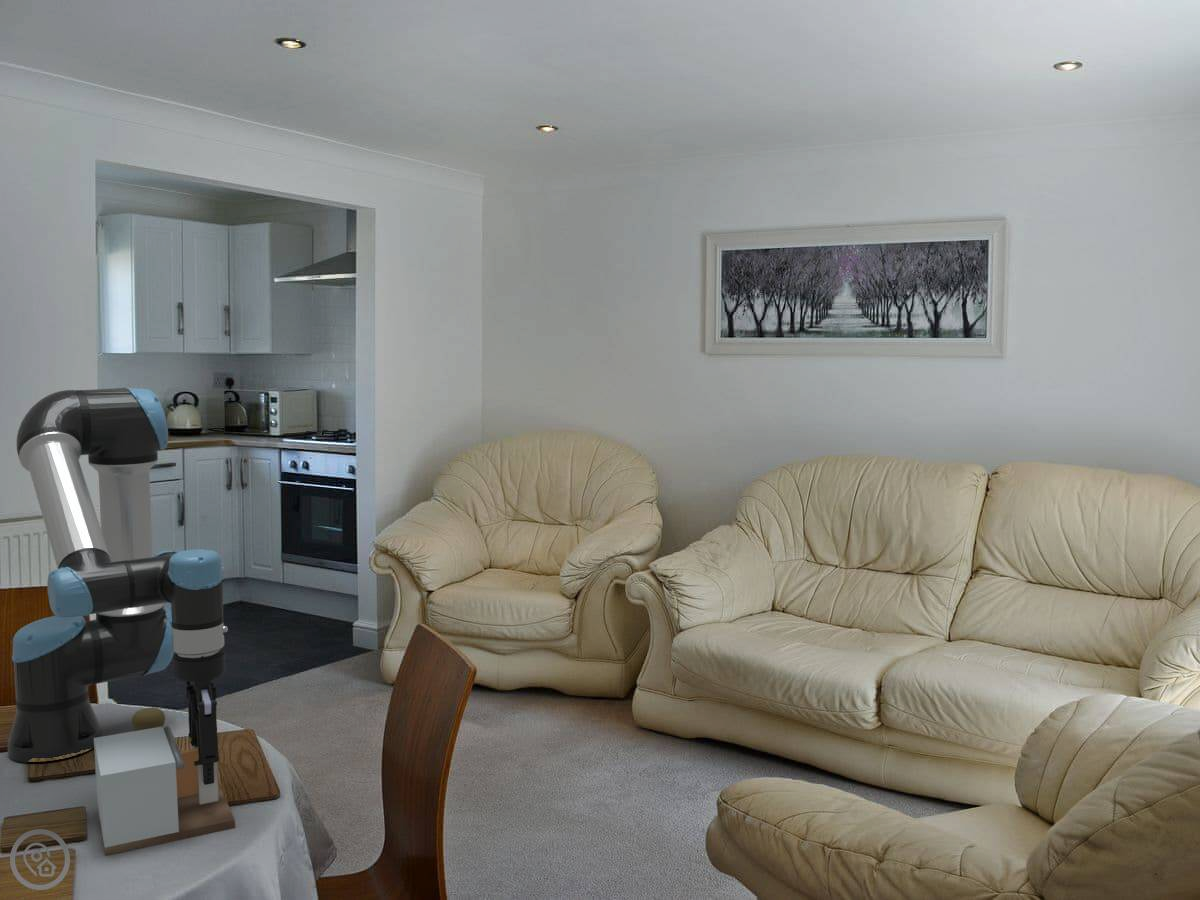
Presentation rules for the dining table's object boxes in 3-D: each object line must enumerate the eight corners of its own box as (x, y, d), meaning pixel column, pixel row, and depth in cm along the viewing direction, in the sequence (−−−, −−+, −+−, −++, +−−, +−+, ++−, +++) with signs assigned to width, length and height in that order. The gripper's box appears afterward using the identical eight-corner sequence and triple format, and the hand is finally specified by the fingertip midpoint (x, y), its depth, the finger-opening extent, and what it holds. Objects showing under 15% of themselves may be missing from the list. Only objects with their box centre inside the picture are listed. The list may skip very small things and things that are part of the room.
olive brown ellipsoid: (156, 780, 177) (153, 717, 176) (124, 777, 178) (120, 715, 177) (177, 766, 183) (174, 705, 181) (146, 763, 184) (143, 702, 183)
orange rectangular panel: (107, 809, 159) (104, 765, 158) (218, 787, 167) (216, 745, 166) (107, 811, 158) (105, 767, 158) (219, 789, 166) (217, 747, 165)
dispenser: (97, 804, 165) (93, 738, 164) (173, 789, 171) (170, 725, 170) (104, 847, 152) (100, 775, 150) (187, 830, 157) (184, 760, 156)
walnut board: (97, 811, 166) (97, 804, 165) (217, 787, 174) (217, 780, 174) (105, 855, 152) (104, 847, 152) (235, 827, 160) (234, 819, 160)
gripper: (235, 663, 156) (241, 812, 159) (214, 632, 173) (220, 767, 175) (181, 671, 153) (188, 823, 156) (165, 638, 169) (172, 776, 172)
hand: (205, 793), depth 165 cm, fingers open, 6 cm apart
